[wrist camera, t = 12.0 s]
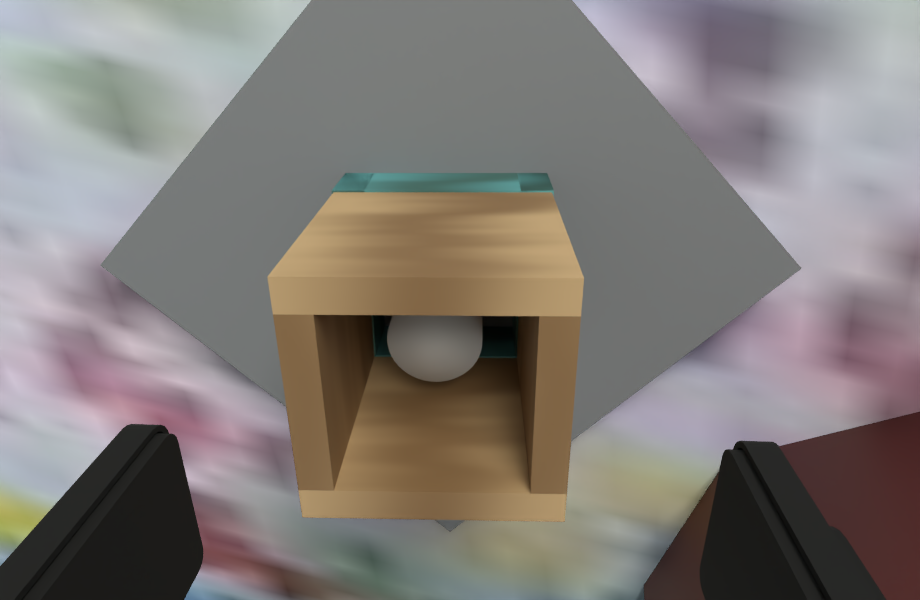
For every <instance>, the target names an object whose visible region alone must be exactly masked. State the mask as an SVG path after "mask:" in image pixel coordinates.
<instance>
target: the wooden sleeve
mask: <svg viewBox="0 0 920 600" xmlns="http://www.w3.org/2000/svg"><path fill="white" fill-rule="evenodd" d="M267 278H268V285H269V292H270V298H271V305H272V312H273V319H274V326H275V333H276V339H277V346H278V353H279V360H280V367H281V374H282V381H283V387H284V394H285V401H286V408H287V415H288V422H289V428H290V435H291V442H292V449H293V456H294V463H295V470H296V476H297V483H298V490H299V497H300V504H301V511H302V517H310V518H371V519H432V520H492V521H553V522H565V510H566V497H567V485H568V472H569V460H570V447H571V435H572V422H573V410H574V398H575V385H576V373H577V360H578V348H579V335H580V323H581V310H582V298H583V285H584V277H583V274H582V271H581V269H580V266H579V263H578V261H577V258H576V255H575V253H574V250H573V247H572V245H571V242H570V239H569V237H568V234H567V231H566V229H565V226H564V223H563V220H562V218H561V215H560V212H559V210H558V207H557V204H556V202H555V199H554V189H553V187H552V184H551V182H550V179H549V177H548V174H547V173H345V174H344V176H343V177H342V178H341V179H340V181H339V182H338V183H337V184H336V186H335V187H334V188H333V189H332V195H331V196H330V197H329V199H328V200H327V201H326V203H325V204H324V205H323V206H322V208H321V209H320V210H319V211H318V213H317V214H316V215H315V217H314V218H313V219H312V220H311V222H310V223H309V224H308V226H307V227H306V228H305V229H304V231H303V232H302V233H301V234H300V236H299V237H298V238H297V240H296V241H295V242H294V243H293V245H292V246H291V247H290V248H289V250H288V251H287V252H286V254H285V255H284V256H283V257H282V259H281V260H280V261H279V263H278V264H277V265H276V266H275V268H274V269H273V270H272V271H271V273H270V274H269V275H268V277H267ZM384 315H433V316H513V327H500V326H482V349H481V353H480V355H479V358H478V360H477V361H476V363H475V364H474V365H473V367H472V368H471V369H470V370H469V371H467V372H466V373H464V374H463V375H461V376H459V377H457V378H455V379H452V380H448V381H442V382H430V381H424V380H421V379H418V378H415V377H413V376H411V375H409V374H408V373H406V372H405V371H403V370H402V369H401V368H400V367H399V366H398V365H397V364H396V362H395V361H394V360H393V358H392V356H391V354H390V352H389V348H388V343H387V334H388V328H389V326H385V320H384Z"/></svg>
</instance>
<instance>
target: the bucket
mask: <svg viewBox="0 0 920 600" xmlns="http://www.w3.org/2000/svg"><path fill="white" fill-rule="evenodd" d="M779 447H780V449H781V450H782V452H783V454H784V455H785V457H786V458H787V460H788V461H789V463H790V465H791V466H792V468H793V469H794V471H795V472H796V474H797V476H798V477H799V479H800V480H801V482H802V484H803V485H804V487H805V488H806V490H807V491H808V493H809V495H810V496H811V498H812V499H813V501H814V502H815V504H816V506H817V507H818V509H819V510H820V512H821V513H822V515H823V517H824V518H825V520H826V521H827V523H828V524H829V526H833V527H835V528H837V529H838V530H840V531H841V532H842V534H843V535H844V536H845V537H846V538H847V540H848V541H849V543H850V544H851V546H852V548H853V549H854V551H855V552H856V554H857V555H858V557H859V558H860V560H861V561H862V563H863V564H864V566H865V567H866V569H867V571H868V572H869V574H870V575H871V577H872V578H873V580H874V581H875V583H876V584H877V586H878V587H879V589H880V590H881V592H882V594H883V595H884V597H885V598H886V600H920V412H917V413H913V414H909V415H905V416H901V417H897V418H893V419H889V420H884V421H880V422H876V423H872V424H868V425H864V426H860V427H856V428H852V429H848V430H844V431H840V432H836V433H832V434H828V435H824V436H819V437H815V438H811V439H807V440H803V441H799V442H795V443H791V444H787V445H783V446H779ZM718 475H719V472H718V474H717V476H716V477H715V479H714V480H713V482H712V483H711V485H710V486H709V488H708V489H707V491H706V492H705V494H704V495H703V497H702V498H701V500H700V501H699V503H698V504H697V506H696V507H695V509H694V510H693V512H692V513H691V515H690V516H689V518H688V519H687V521H686V522H685V524H684V525H683V527H682V528H681V530H680V531H679V533H678V534H677V536H676V538H675V539H674V541H673V542H672V544H671V545H670V547H669V548H668V550H667V551H666V553H665V554H664V556H663V557H662V559H661V560H660V562H659V563H658V565H657V566H656V568H655V569H654V571H653V572H652V574H651V575H650V577H649V578H648V580H647V581H646V583H645V584H644V600H705V598H704V595H703V592H702V588H701V584H700V564H701V559H702V554H703V549H704V544H705V539H706V534H707V529H708V524H709V519H710V515H711V510H712V505H713V500H714V495H715V490H716V485H717V480H718Z"/></svg>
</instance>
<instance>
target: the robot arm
mask: <svg viewBox="0 0 920 600" xmlns="http://www.w3.org/2000/svg"><path fill="white" fill-rule="evenodd" d="M202 560H203V545H202V541H201V537H200V533H199V528H198V524H197V520H196V516H195V511H194V507H193V503H192V499H191V494H190V490H189V486H188V482H187V477H186V473H185V469H184V465H183V460H182V456H181V452H180V448H179V444H178V440H177V437H176V436H175V435H174V434H169V432H168V430H167V429H166V427H165V426H162V425H143V424H130V425H127V426H126V427H124V428H123V429H122V430H121V431H120V432H119V434H118V435H117V436H116V437H115V438H114V439H113V440H112V441H111V442H110V444H109V445H108V446H107V447H106V448H105V449H104V450H103V451H102V453H101V454H100V455H99V456H98V457H97V458H96V459H95V460H94V462H93V463H92V464H91V465H90V466H89V467H88V468H87V469H86V471H85V472H84V473H83V474H82V475H81V476H80V477H79V478H78V480H77V481H76V482H75V483H74V484H73V485H72V486H71V487H70V489H69V490H68V491H67V492H66V493H65V494H64V495H63V496H62V498H61V499H60V500H59V501H58V502H57V503H56V504H55V505H54V507H53V508H52V509H51V510H50V511H49V512H48V513H47V514H46V516H45V517H44V518H43V519H42V520H41V521H40V522H39V523H38V525H37V526H36V527H35V528H34V529H33V530H32V531H31V532H30V534H29V535H28V536H27V537H26V538H25V539H24V540H23V541H22V543H21V544H20V545H19V546H18V547H17V548H16V549H15V550H14V552H13V553H12V554H11V555H10V556H9V557H8V558H7V559H6V561H5V562H4V563H3V564H2V565H1V566H0V600H184V598H185V597H186V595H187V593H188V591H189V589H190V587H191V585H192V583H193V581H194V580H195V578H196V576H197V574H198V572H199V570H200V567H201V564H202ZM700 584H701V588H702V592H703V595H704V598H705V600H886V598H885V597H884V595H883V594H882V592H881V590H880V589H879V587H878V586H877V584H876V583H875V581H874V580H873V578H872V577H871V575H870V574H869V572H868V571H867V569H866V567H865V566H864V564H863V563H862V561H861V560H860V558H859V557H858V555H857V554H856V552H855V551H854V549H853V548H852V546H851V544H850V543H849V541H848V540H847V538H846V537H845V536H844V535H843V534H842V532H841V531H840V530H838V529H837V528H835V527H833V526H829V524H828V523H827V521H826V520H825V518H824V517H823V515H822V513H821V512H820V510H819V509H818V507H817V506H816V504H815V502H814V501H813V499H812V498H811V496H810V495H809V493H808V491H807V490H806V488H805V487H804V485H803V484H802V482H801V480H800V479H799V477H798V476H797V474H796V472H795V471H794V469H793V468H792V466H791V465H790V463H789V461H788V460H787V458H786V457H785V455H784V454H783V452H782V450H781V449H780V447H779V446H778V445H777V444H776V443H774V442H757V441H739V442H737V443H736V444H735V446H734V449H733V450H725V451H724V453H723V456H722V461H721V466H720V470H719V475H718V480H717V485H716V490H715V495H714V500H713V505H712V510H711V515H710V519H709V524H708V529H707V534H706V539H705V544H704V549H703V554H702V559H701V564H700Z"/></svg>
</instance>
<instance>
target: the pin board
mask: <svg viewBox="0 0 920 600" xmlns="http://www.w3.org/2000/svg"><path fill="white" fill-rule="evenodd" d="M345 173H547V174H548V177H549V179H550V182H551V184H552V187H553V189H554V199H555V202H556V204H557V207H558V210H559V212H560V215H561V218H562V220H563V223H564V226H565V229H566V231H567V234H568V237H569V239H570V242H571V245H572V247H573V250H574V253H575V255H576V258H577V261H578V263H579V266H580V269H581V271H582V274H583V277H584V285H583V298H582V310H581V323H580V335H579V348H578V360H577V373H576V385H575V398H574V410H573V422H572V435H571V441H572V440H573V439H574V438H576V437H577V436H578V435H580V434H581V433H582V432H584V431H585V430H586V429H588V428H589V427H590V426H592V425H593V424H594V423H596V422H597V421H598V420H600V419H601V418H602V417H604V416H605V415H606V414H608V413H609V412H610V411H612V410H613V409H614V408H616V407H617V406H618V405H620V404H621V403H622V402H624V401H625V400H626V399H628V398H629V397H630V396H632V395H633V394H634V393H636V392H637V391H638V390H640V389H641V388H642V387H644V386H645V385H646V384H648V383H649V382H650V381H652V380H653V379H654V378H656V377H657V376H658V375H660V374H661V373H662V372H664V371H665V370H666V369H668V368H669V367H670V366H672V365H673V364H674V363H676V362H677V361H678V360H680V359H681V358H682V357H684V356H685V355H686V354H688V353H689V352H690V351H692V350H693V349H695V348H696V347H697V346H699V345H700V344H701V343H703V342H704V341H705V340H707V339H708V338H709V337H711V336H712V335H713V334H715V333H716V332H717V331H719V330H720V329H721V328H723V327H724V326H725V325H727V324H728V323H729V322H731V321H732V320H733V319H735V318H736V317H737V316H739V315H740V314H741V313H743V312H744V311H745V310H747V309H748V308H749V307H751V306H752V305H753V304H755V303H756V302H757V301H759V300H760V299H761V298H763V297H764V296H765V295H767V294H768V293H769V292H771V291H772V290H773V289H775V288H776V287H777V286H779V285H780V284H781V283H783V282H784V281H785V280H787V279H788V278H789V277H791V276H792V275H793V274H795V273H796V272H797V271H799V270H800V269H801V267H800V266H799V265H798V264H797V263H796V261H795V260H794V259H793V258H792V257H791V256H790V254H789V253H788V252H787V251H786V250H785V249H784V247H783V246H782V245H781V244H780V243H779V242H778V240H777V239H776V238H775V237H774V236H773V235H772V233H771V232H770V231H769V230H768V229H767V228H766V226H765V225H764V224H763V223H762V222H761V220H760V219H759V218H758V217H757V216H756V215H755V213H754V212H753V211H752V210H751V209H750V208H749V206H748V205H747V204H746V203H745V202H744V201H743V199H742V198H741V197H740V196H739V195H738V194H737V192H736V191H735V190H734V189H733V188H732V187H731V185H730V184H729V183H728V182H727V181H726V180H725V178H724V177H723V176H722V175H721V174H720V173H719V171H718V170H717V169H716V168H715V167H714V166H713V164H712V163H711V162H710V161H709V160H708V159H707V157H706V156H705V155H704V154H703V153H702V152H701V150H700V149H699V148H698V147H697V146H696V145H695V143H694V142H693V141H692V140H691V139H690V138H689V136H688V135H687V134H686V133H685V132H684V131H683V129H682V128H681V127H680V126H679V125H678V124H677V122H676V121H675V120H674V119H673V118H672V117H671V115H670V114H669V113H668V112H667V111H666V110H665V108H664V107H663V106H662V105H661V104H660V103H659V101H658V100H657V99H656V98H655V97H654V96H653V94H652V93H651V92H650V91H649V90H648V89H647V87H646V86H645V85H644V84H643V83H642V82H641V80H640V79H639V78H638V77H637V76H636V75H635V73H634V72H633V71H632V70H631V69H630V68H629V66H628V65H627V64H626V63H625V62H624V61H623V59H622V58H621V57H620V56H619V55H618V54H617V52H616V51H615V50H614V49H613V48H612V47H611V45H610V44H609V43H608V42H607V41H606V40H605V38H604V37H603V36H602V35H601V34H600V33H599V31H598V30H597V29H596V28H595V27H594V26H593V24H592V23H591V22H590V21H589V20H588V19H587V17H586V16H585V15H584V14H583V13H582V11H581V10H580V9H579V8H578V7H577V6H576V4H575V3H574V2H573V1H572V0H311V2H310V3H309V4H308V5H307V7H306V8H305V9H304V10H303V12H302V13H301V14H300V15H299V17H298V18H297V19H296V20H295V22H294V23H293V24H292V25H291V27H290V28H289V29H288V30H287V32H286V33H285V34H284V35H283V37H282V38H281V39H280V40H279V42H278V43H277V44H276V46H275V47H274V48H273V49H272V51H271V52H270V53H269V54H268V56H267V57H266V58H265V59H264V61H263V62H262V63H261V64H260V66H259V67H258V68H257V69H256V71H255V72H254V73H253V74H252V76H251V77H250V78H249V79H248V81H247V82H246V83H245V84H244V86H243V87H242V88H241V89H240V91H239V92H238V93H237V94H236V96H235V97H234V98H233V99H232V101H231V102H230V103H229V104H228V106H227V107H226V108H225V110H224V111H223V112H222V113H221V115H220V116H219V117H218V118H217V120H216V121H215V122H214V123H213V125H212V126H211V127H210V128H209V130H208V131H207V132H206V133H205V135H204V136H203V137H202V138H201V140H200V141H199V142H198V143H197V145H196V146H195V147H194V148H193V150H192V151H191V152H190V153H189V155H188V156H187V157H186V158H185V160H184V161H183V162H182V163H181V165H180V166H179V167H178V168H177V170H176V171H175V172H174V174H173V175H172V176H171V177H170V179H169V180H168V181H167V182H166V184H165V185H164V186H163V187H162V189H161V190H160V191H159V192H158V194H157V195H156V196H155V197H154V199H153V200H152V201H151V202H150V204H149V205H148V206H147V207H146V209H145V210H144V211H143V212H142V214H141V215H140V216H139V217H138V219H137V220H136V221H135V222H134V224H133V225H132V226H131V227H130V229H129V230H128V231H127V233H126V234H125V235H124V236H123V238H122V239H121V240H120V241H119V243H118V244H117V245H116V246H115V248H114V249H113V250H112V251H111V253H110V254H109V255H108V256H107V258H106V259H105V260H104V261H103V263H102V264H101V266H102V267H103V268H105V269H106V270H107V271H108V272H110V273H111V274H112V275H114V276H115V277H116V278H118V279H119V280H120V281H122V282H123V283H124V284H126V285H127V286H128V287H129V288H131V289H132V290H133V291H135V292H136V293H137V294H139V295H140V296H141V297H143V298H144V299H145V300H147V301H148V302H149V303H150V304H152V305H153V306H154V307H156V308H157V309H158V310H160V311H161V312H162V313H164V314H165V315H166V316H168V317H169V318H170V319H171V320H173V321H174V322H175V323H177V324H178V325H179V326H181V327H182V328H183V329H185V330H186V331H187V332H189V333H190V334H191V335H192V336H194V337H195V338H196V339H198V340H199V341H200V342H202V343H203V344H204V345H206V346H207V347H208V348H210V349H211V350H212V351H214V352H215V353H216V354H217V355H219V356H220V357H221V358H223V359H224V360H225V361H227V362H228V363H229V364H231V365H232V366H233V367H235V368H236V369H237V370H238V371H240V372H241V373H242V374H244V375H245V376H246V377H248V378H249V379H250V380H252V381H253V382H254V383H256V384H257V385H258V386H259V387H261V388H262V389H263V390H265V391H266V392H267V393H269V394H270V395H271V396H273V397H274V398H275V399H277V400H278V401H279V402H280V403H282V404H283V405H284V406H286V401H285V394H284V387H283V381H282V374H281V367H280V360H279V353H278V346H277V339H276V333H275V326H274V319H273V312H272V305H271V298H270V292H269V285H268V278H267V277H268V275H269V274H270V273H271V271H272V270H273V269H274V268H275V266H276V265H277V264H278V263H279V261H280V260H281V259H282V257H283V256H284V255H285V254H286V252H287V251H288V250H289V248H290V247H291V246H292V245H293V243H294V242H295V241H296V240H297V238H298V237H299V236H300V234H301V233H302V232H303V231H304V229H305V228H306V227H307V226H308V224H309V223H310V222H311V220H312V219H313V218H314V217H315V215H316V214H317V213H318V211H319V210H320V209H321V208H322V206H323V205H324V204H325V203H326V201H327V200H328V199H329V197H330V196H331V195H332V189H333V188H334V187H335V186H336V184H337V183H338V182H339V181H340V179H341V178H342V177H343V176H344V174H345ZM384 320H385V326H389V328H388V334H387V343H388V348H389V352H390V354H391V356H392V358H393V360H394V361H395V362H396V364H397V365H398V366H399V367H400V368H401V369H402V370H403V371H405V372H406V373H408V374H409V375H411V376H413V377H415V378H418V379H421V380H424V381H430V382H442V381H448V380H452V379H455V378H457V377H459V376H461V375H463V374H464V373H466V372H467V371H469V370H470V369H471V368H472V367H473V365H474V364H475V363H476V361H477V360H478V358H479V355H480V353H481V349H482V326H500V327H513V316H433V315H384ZM435 521H437V522H438V523H439V524H441V525H442V526H443V527H445V528H446V529H447V530H449V531H451V530H453V529H454V528H455V527H457V526H458V525H459V524H461V523H462V522H463V521H465V520H435Z"/></svg>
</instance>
